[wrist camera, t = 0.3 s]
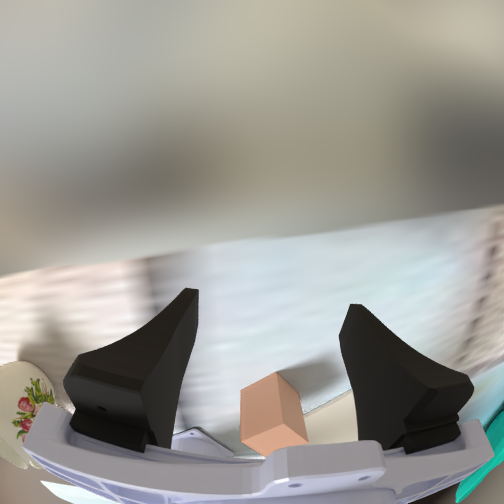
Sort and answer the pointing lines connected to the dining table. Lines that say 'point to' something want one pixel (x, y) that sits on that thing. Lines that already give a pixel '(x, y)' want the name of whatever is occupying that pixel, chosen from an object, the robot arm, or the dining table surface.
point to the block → (271, 416)
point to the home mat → (333, 421)
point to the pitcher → (21, 408)
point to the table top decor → (500, 438)
